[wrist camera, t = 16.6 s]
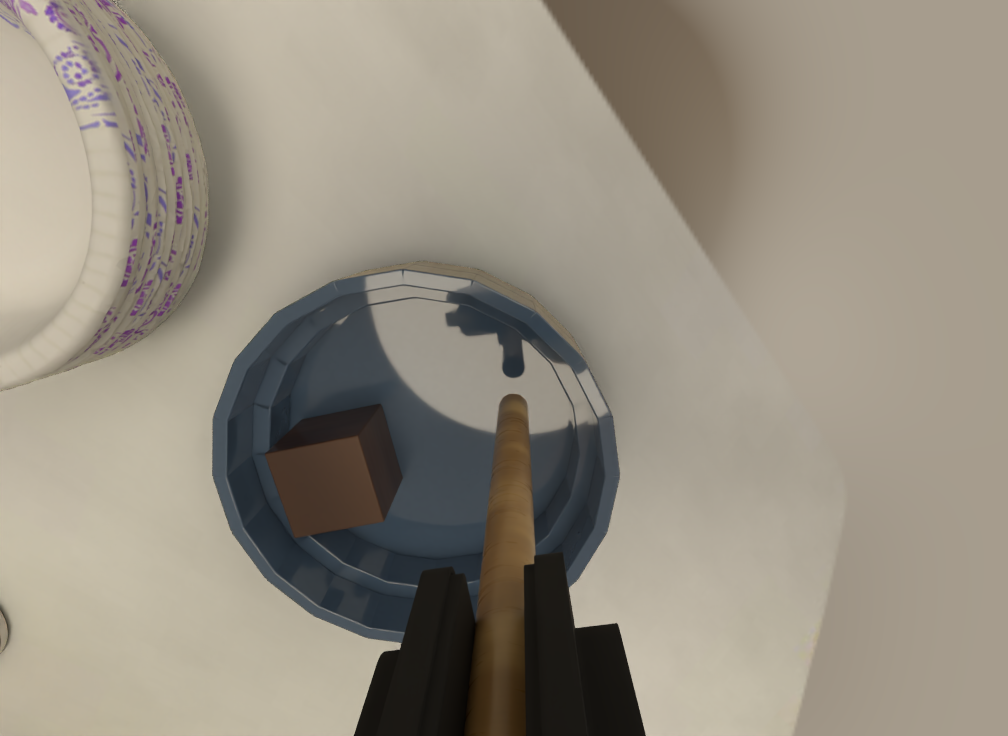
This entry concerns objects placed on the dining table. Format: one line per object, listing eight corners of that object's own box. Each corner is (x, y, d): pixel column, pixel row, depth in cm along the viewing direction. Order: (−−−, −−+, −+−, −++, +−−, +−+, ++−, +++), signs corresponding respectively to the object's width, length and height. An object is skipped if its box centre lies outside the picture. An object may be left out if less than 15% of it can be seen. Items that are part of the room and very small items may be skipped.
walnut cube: (381, 402, 25) (357, 435, 21) (403, 478, 26) (384, 522, 22) (301, 419, 26) (263, 453, 22) (325, 493, 27) (293, 539, 23)
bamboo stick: (525, 391, 22) (554, 1050, 4) (529, 418, 22) (572, 1137, 5) (496, 395, 22) (410, 1059, 4) (501, 422, 22) (438, 1143, 5)
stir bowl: (575, 233, 24) (591, 236, 19) (616, 550, 28) (638, 619, 23) (225, 293, 25) (155, 311, 20) (315, 591, 29) (275, 665, 24)
